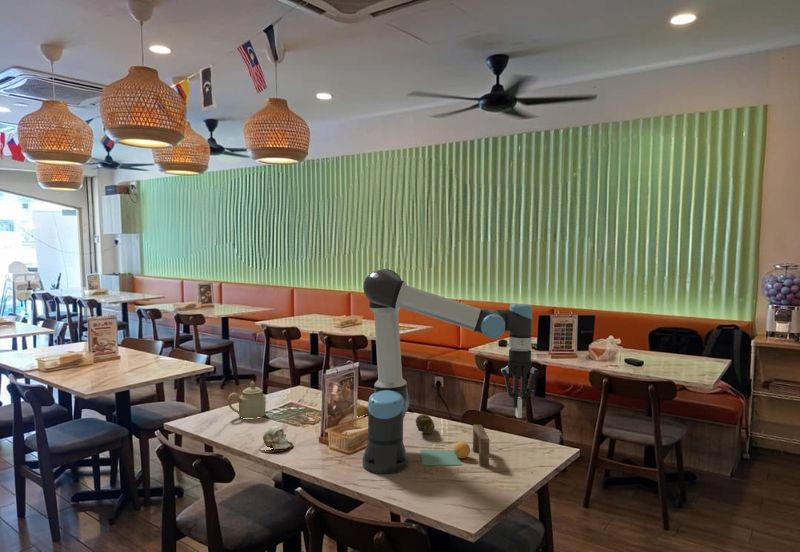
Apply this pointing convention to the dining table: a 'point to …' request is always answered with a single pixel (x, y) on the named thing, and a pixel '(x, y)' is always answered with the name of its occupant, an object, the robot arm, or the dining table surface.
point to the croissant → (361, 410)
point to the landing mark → (439, 457)
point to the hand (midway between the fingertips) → (518, 416)
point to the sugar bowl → (250, 402)
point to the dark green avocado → (424, 423)
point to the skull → (276, 439)
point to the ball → (461, 449)
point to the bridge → (481, 444)
